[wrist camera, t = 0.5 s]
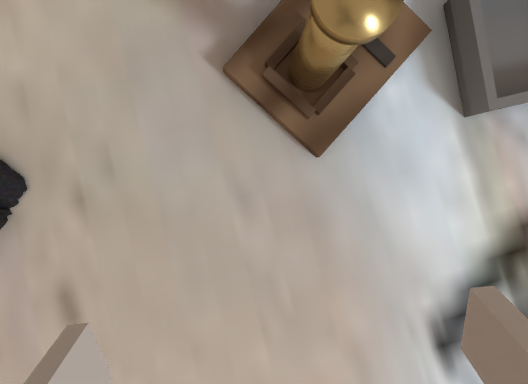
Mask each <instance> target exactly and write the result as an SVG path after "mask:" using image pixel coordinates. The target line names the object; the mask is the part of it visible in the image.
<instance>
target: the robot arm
mask: <svg viewBox="0 0 528 384" xmlns="http://www.w3.org/2000/svg"><path fill="white" fill-rule="evenodd" d="M461 350H462V351H463V353H464V354H465V356H466V357H467V359H468V360H469V362H470V363H471V365H472V366H473V368H474V369H475V371H476V372H477V374H478V375H479V377H480V378H481V380H482V381H483V383H484V384H528V319H527V318H526V317H525V316H524V315H523V314H522V313H521V312H520V311H519V310H518V309H517V308H516V307H515V306H514V305H513V304H512V303H511V302H510V301H509V300H508V299H507V298H506V297H505V296H504V295H503V294H502V293H501V292H500V291H499V290H498V289H497V288H496V287H495V286H488V287H477V288H470V294H469V300H468V306H467V312H466V318H465V324H464V330H463V336H462V343H461ZM111 379H112V375H111V373H110V370H109V368H108V366H107V364H106V361H105V359H104V357H103V355H102V352H101V350H100V348H99V346H98V344H97V341H96V339H95V337H94V335H93V332H92V330H91V328H90V326H89V323H84V324H73V325H67V326H66V328H65V329H64V330H63V332H62V333H61V334H60V336H59V337H58V338H57V340H56V341H55V343H54V344H53V345H52V347H51V348H50V349H49V351H48V352H47V353H46V355H45V356H44V357H43V359H42V360H41V361H40V363H39V364H38V365H37V367H36V368H35V369H34V371H33V372H32V373H31V375H30V376H29V378H28V379H27V380H26V382H25V383H24V384H109V383H110V381H111Z"/></svg>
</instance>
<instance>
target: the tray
mask: <svg viewBox="0 0 528 384" xmlns="http://www.w3.org/2000/svg"><path fill="white" fill-rule="evenodd" d="M444 10H445V15H446V21H447V26H448V31H449V37H450V42H451V47H452V52H453V58H454V63H455V68H456V74H457V79H458V84H459V90H460V95H461V100H462V106H463V111H464V116H465V117H468V116H472V115H476V114H480V113H484V112H489V111H493V110H497V109H501V108H505V107H510V106H514V105H518V104H522V103H526V102H528V0H449V1H447V2H446V3H445V4H444Z"/></svg>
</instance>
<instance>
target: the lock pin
mask: <svg viewBox="0 0 528 384" xmlns="http://www.w3.org/2000/svg"><path fill="white" fill-rule="evenodd" d="M403 1H404V0H309V7H310V11H311V13H310V15H309V17H308V20H307V22H306V25H305V27H304V30H303V32H302V35H301V37H300V39H299V42H298V44H297V47H296V49H295V52H294V54H293V57H292V59H291V62H290V64H289V69H288V73H289V78H290V80H291V82H292V83H293V85H294V86H295V87H296V88H298V89H300V90H302V91H306V92H311V91H315V90H317V89H319V88H320V87H322V86H323V85H324V83H325V82H326V81H327V80H328V79H329V78H330V77H331V76H332V74H333V73H334V72H335V71H336V70H337V69H338V68H339V66H340V65H341V64H342V63H343V62H344V61H345V60H346V59H347V57H348V56H349V55H350V54H351V53H352V52H353V51H354V50H355V48H356V47H357V46H358V45H362V44H365V43H368V42H371V41H373V40H374V39H376V38H378V37H379V36H380V35H381V34H382V33H383V32H384V31H385V30H386V29H387V28H388V27H389V26H390V25H391V24H392V23H393V22H394V20H395V19H396V18H397V16H398V14H399V12H400V10H401V8H402V5H403Z"/></svg>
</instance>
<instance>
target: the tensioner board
mask: <svg viewBox="0 0 528 384" xmlns="http://www.w3.org/2000/svg"><path fill="white" fill-rule="evenodd" d="M310 13H311V11H310V7H309V0H282V1H281V2H280V3H279V4H278V5H277V6H276V8H275V9H274V10H273V11H272V12H271V13H270V14H269V16H268V17H267V18H266V19H265V20H264V21H263V22H262V23H261V25H260V26H259V27H258V28H257V29H256V30H255V31H254V33H253V34H252V35H251V36H250V37H249V38H248V39H247V40H246V42H245V43H244V44H243V45H242V46H241V47H240V48H239V50H238V51H237V52H236V53H235V54H234V55H233V56H232V57H231V59H230V60H229V61H228V62H227V63H226V64H225V65H224V67H223V72H224V73H225V74H226V75H227V76H228V77H229V78H230V79H231V80H233V81H234V82H235V83H236V84H237V85H238V86H239V87H240V88H241V89H242V90H243V91H245V92H246V93H247V94H248V95H249V96H250V97H251V98H252V99H253V100H254V101H256V102H257V103H258V104H259V105H260V106H261V107H262V108H263V109H264V110H265V111H266V112H268V113H269V114H270V115H271V116H272V117H273V118H274V119H275V120H276V121H277V122H278V123H280V124H281V125H282V126H283V127H284V128H285V129H286V130H287V131H288V132H289V133H291V134H292V135H293V136H294V137H295V138H296V139H297V140H298V141H299V142H300V143H301V144H303V145H304V146H305V147H306V148H307V149H308V150H309V151H310V152H311V153H312V154H314V155H315V156H316V157H320V156H321V155H322V154H323V153H324V151H325V150H326V149H327V148H328V147H329V146H330V145H331V144H332V142H333V141H334V140H335V139H336V138H337V137H338V136H339V134H340V133H341V132H342V131H343V130H344V129H345V128H346V127H347V125H348V124H349V123H350V122H351V121H352V120H353V119H354V118H355V116H356V115H357V114H358V113H359V112H360V111H361V110H362V108H363V107H364V106H365V105H366V104H367V103H368V102H369V101H370V99H371V98H372V97H373V96H374V95H375V94H376V93H377V92H378V90H379V89H380V88H381V87H382V86H383V85H384V84H385V83H386V81H387V80H388V79H389V78H390V77H391V76H392V75H393V73H394V72H395V71H396V70H397V69H398V68H399V67H400V66H401V64H402V63H403V62H404V61H405V60H406V59H407V58H408V57H409V55H410V54H411V53H412V52H413V51H414V50H415V49H416V48H417V46H418V45H419V44H420V43H421V42H422V41H423V40H424V38H425V37H426V36H427V35H428V34H429V33H430V32H431V31H432V30H431V29H430V28H429V27H428V26H427V25H426V24H425V23H424V22H423V21H422V20H421V19H420V18H419V17H418V16H417V15H416V14H415V13H414V12H413V11H412V10H411V9H410V8H409V7H408V6H407V5H406V4H405V3H404V2H403V5H402V8H401V10H400V12H399V14H398V16H397V18H396V19H395V20H394V22H393V23H392V24H391V25H390V26H389V27H388V28H387V29H386V30H385V31H384V32H383V33H382V34H381V35H380V36H379V37H378V38H376V39H374V40H373V41H371V42H368V43H365V44H362V45H358V46H357V47H356V48H355V50H354V51H353V52H352V53H351V54H350V55H349V56H348V57H347V59H346V60H345V61H344V62H343V63H342V64H341V65H340V66H339V68H338V69H337V70H336V71H335V72H334V73H333V74H332V76H331V77H330V78H329V79H328V80H327V81H326V82H325V83H324V85H323V86H322V87H320V88H319V89H317V90H315V91H311V92H306V91H302V90H300V89H298V88H296V87H295V86H294V85H293V83H292V82H291V80H290V78H289V73H288V69H289V64H290V62H291V59H292V57H293V54H294V52H295V49H296V47H297V44H298V42H299V39H300V37H301V35H302V32H303V30H304V27H305V25H306V22H307V20H308V17H309V15H310Z"/></svg>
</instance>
